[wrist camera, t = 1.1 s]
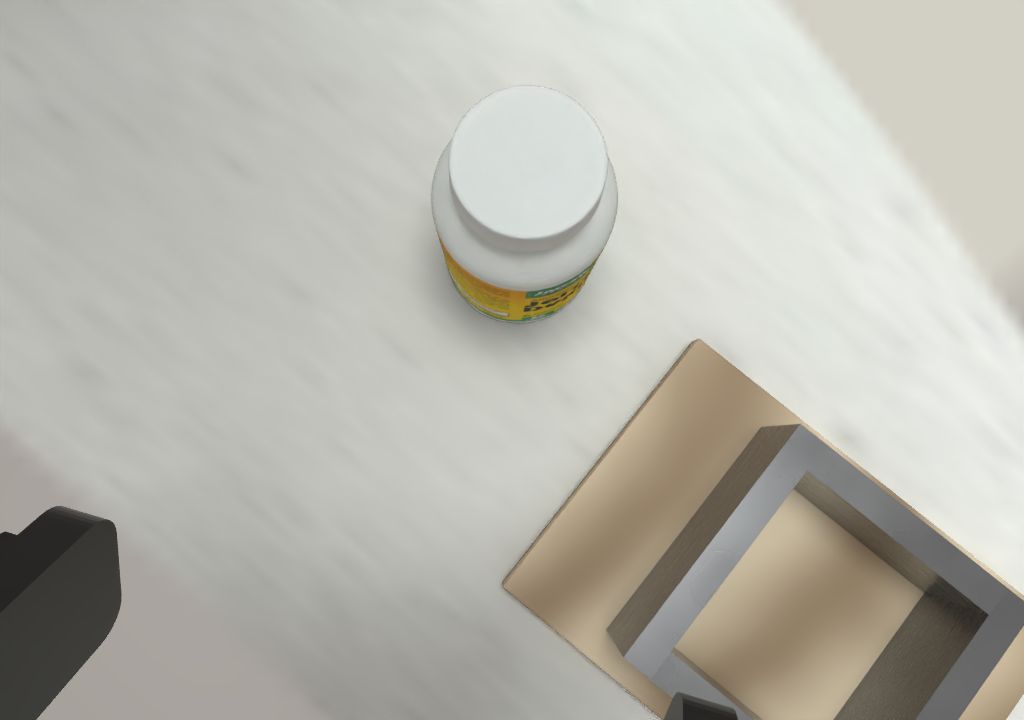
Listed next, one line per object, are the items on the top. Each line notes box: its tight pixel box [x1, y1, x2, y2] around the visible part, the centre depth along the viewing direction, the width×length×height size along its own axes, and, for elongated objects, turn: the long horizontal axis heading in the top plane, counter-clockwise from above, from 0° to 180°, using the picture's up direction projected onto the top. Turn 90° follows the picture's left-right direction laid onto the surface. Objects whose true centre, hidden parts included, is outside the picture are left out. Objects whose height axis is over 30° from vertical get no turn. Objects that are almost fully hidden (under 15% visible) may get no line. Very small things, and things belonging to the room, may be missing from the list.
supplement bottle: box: [431, 85, 618, 323], centre depth 24 cm, size 5×5×10 cm
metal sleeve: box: [606, 424, 1024, 720], centre depth 25 cm, size 9×9×4 cm
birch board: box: [503, 339, 1024, 720], centre depth 27 cm, size 16×11×1 cm
